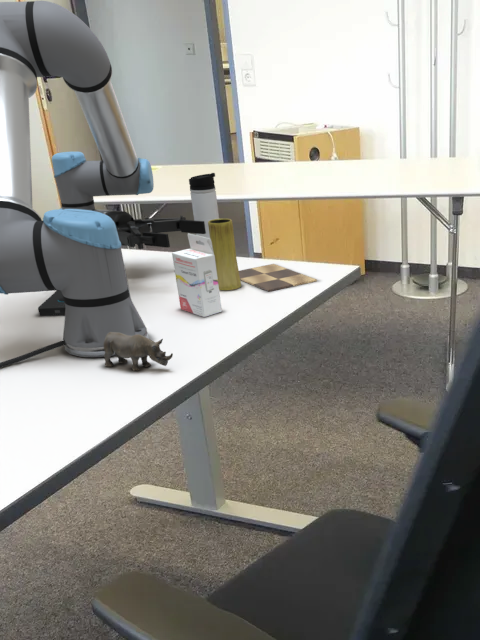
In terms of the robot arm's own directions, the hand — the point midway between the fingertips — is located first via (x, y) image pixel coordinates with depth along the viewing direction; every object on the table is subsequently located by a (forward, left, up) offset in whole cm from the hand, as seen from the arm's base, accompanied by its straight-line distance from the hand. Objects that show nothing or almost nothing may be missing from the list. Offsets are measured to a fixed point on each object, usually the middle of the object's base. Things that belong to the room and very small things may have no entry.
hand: (186, 234), depth 171 cm
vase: (+4, -8, -11) cm, 15 cm away
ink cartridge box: (-9, -21, -11) cm, 25 cm away
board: (+16, -8, -11) cm, 21 cm away
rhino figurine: (-32, -44, -11) cm, 55 cm away
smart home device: (-27, +5, -11) cm, 30 cm away
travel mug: (+14, +19, -11) cm, 26 cm away
